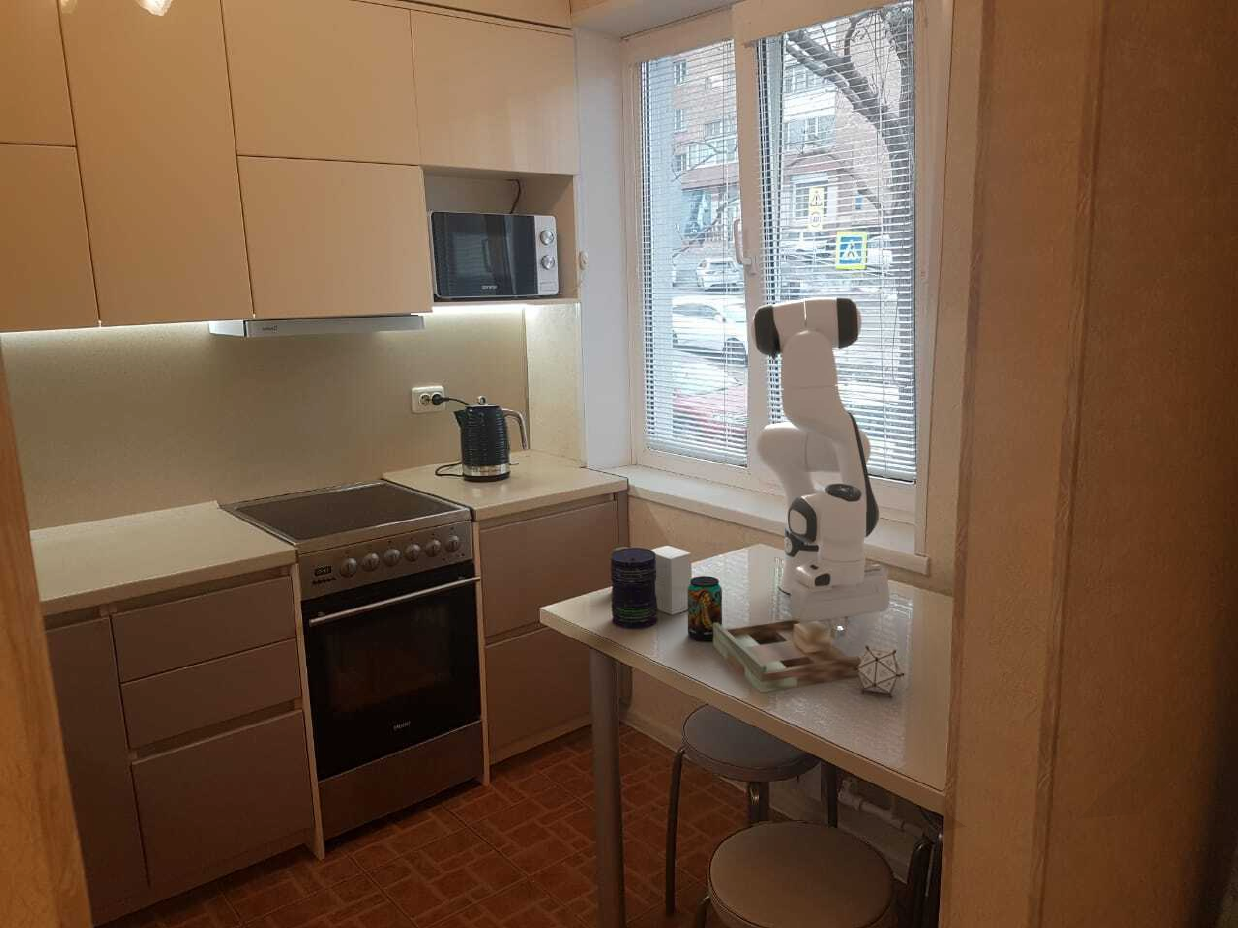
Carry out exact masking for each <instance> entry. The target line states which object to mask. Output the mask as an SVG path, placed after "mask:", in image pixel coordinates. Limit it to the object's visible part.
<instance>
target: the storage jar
mask: <svg viewBox="0 0 1238 928" xmlns="http://www.w3.org/2000/svg"><path fill="white" fill-rule="evenodd" d="M626 548H627V549H621V550H617V551H615V552H613V551H612V553H611V554H610V579H611V582H612V586H613V596H612V595H611V596H612V597H611V612H612V624H613V625H614V626H616V627H618V628H620V629H623V630H624V629H625V630H643V629H644V630H645V629H647V628H650V627H653V626H655V625H656V624H657V623H658V617H657V614H658V609H657V597H656V595H655V580H656V576H657V575H656V571H657V570H656V560H655V559H656V554H655V552H653V551H651V550H652V549H647V548H639V547H637V548H636V547H632V548H630V547H626Z"/></svg>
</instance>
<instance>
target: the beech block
mask: <svg viewBox="0 0 1238 928" xmlns="http://www.w3.org/2000/svg"><path fill="white" fill-rule="evenodd" d="M830 640H831V629H829V628H828V627H827V626H825V625H824V624H822V623H821V622H820V621H813V622H806V623H798V624H794V644H795V645H797V646H798V647H799V648H800V649H802V650H803V651H804V652H805V653H810V652H817V651H823V650H829V649H830V644H831V642H830Z"/></svg>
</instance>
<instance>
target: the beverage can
mask: <svg viewBox="0 0 1238 928" xmlns="http://www.w3.org/2000/svg"><path fill="white" fill-rule="evenodd" d="M687 600H688V609H687V633H688V635H689V636H690V638H691V639H692V640H695V641H698V642H713V623H715V622H718V623H719V624H720V625H721V626H722V627H723V589H722V586H721V585H720V583H719V578H716V577H714V576H707V575H706V576H705V575H704V576H696V577H693V578H692V579H691V584H690V585H689V587H688V589H687Z"/></svg>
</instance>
